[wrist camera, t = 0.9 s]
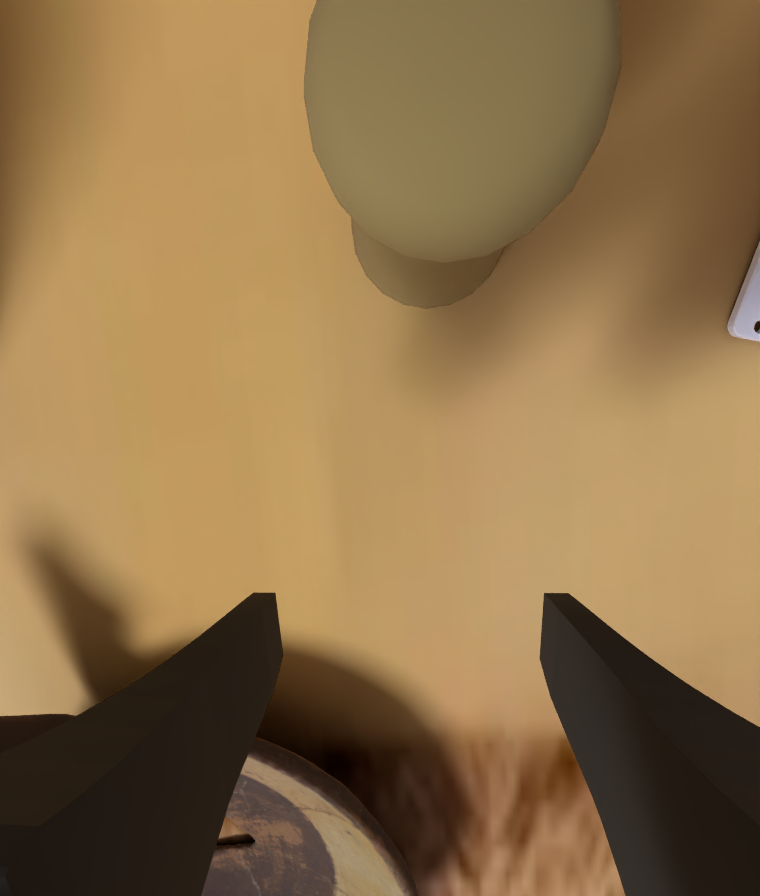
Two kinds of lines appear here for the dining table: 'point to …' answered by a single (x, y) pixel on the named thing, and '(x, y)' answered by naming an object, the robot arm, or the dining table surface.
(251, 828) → the oil lamp
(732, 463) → the dining table surface
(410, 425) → the dining table surface
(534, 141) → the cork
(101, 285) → the dining table surface
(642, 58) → the dining table surface
